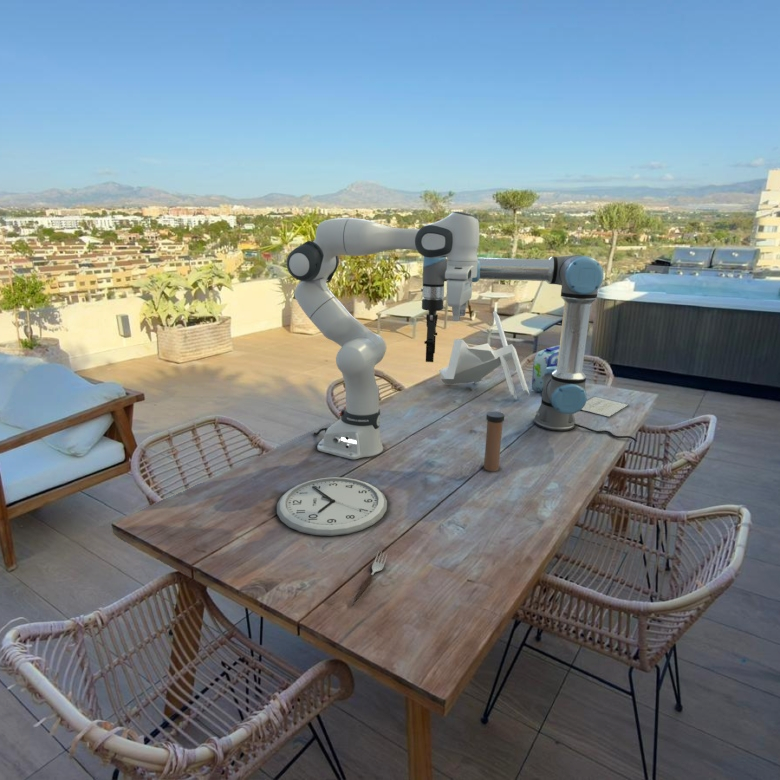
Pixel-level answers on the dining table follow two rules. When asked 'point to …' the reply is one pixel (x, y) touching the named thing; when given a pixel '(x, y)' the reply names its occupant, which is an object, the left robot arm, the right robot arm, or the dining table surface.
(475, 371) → the white plastic object
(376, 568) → the fork
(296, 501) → the wall clock
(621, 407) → the invitation card
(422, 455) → the dining table surface
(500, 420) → the lid
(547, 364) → the lunch box
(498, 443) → the bottle
